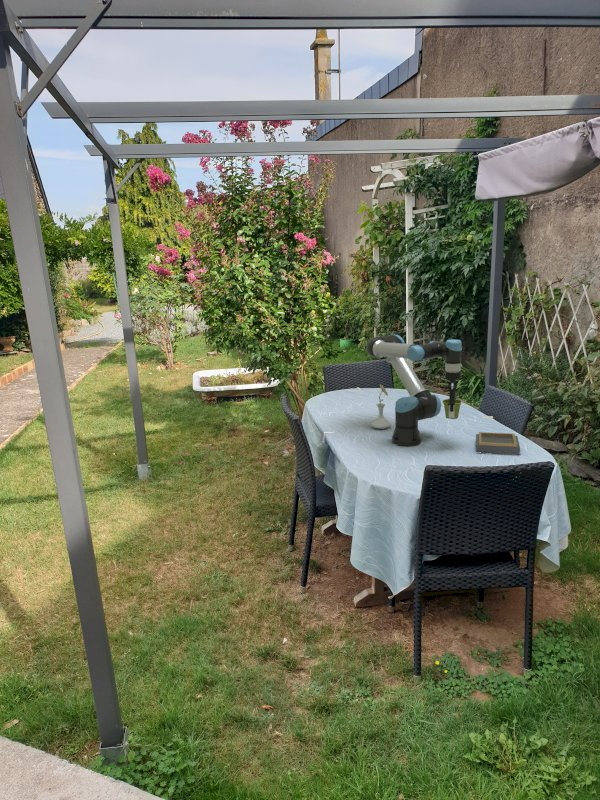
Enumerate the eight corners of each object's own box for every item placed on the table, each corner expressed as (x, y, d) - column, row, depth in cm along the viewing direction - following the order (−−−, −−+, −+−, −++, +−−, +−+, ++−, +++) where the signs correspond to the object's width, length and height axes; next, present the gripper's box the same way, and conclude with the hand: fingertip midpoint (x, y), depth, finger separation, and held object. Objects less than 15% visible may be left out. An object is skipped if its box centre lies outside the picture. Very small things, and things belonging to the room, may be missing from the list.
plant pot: (448, 421, 282) (448, 404, 280) (438, 416, 291) (439, 399, 288) (465, 419, 284) (465, 402, 282) (455, 414, 293) (455, 397, 291)
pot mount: (476, 452, 279) (476, 442, 278) (475, 441, 296) (476, 431, 295) (519, 455, 274) (520, 444, 272) (516, 443, 290) (517, 433, 289)
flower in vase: (390, 430, 320) (390, 387, 314) (370, 430, 322) (369, 387, 316) (391, 424, 332) (391, 382, 326) (372, 423, 335) (371, 382, 328)
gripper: (460, 376, 270) (459, 421, 276) (461, 366, 290) (459, 409, 296) (444, 375, 272) (443, 420, 278) (446, 366, 293) (445, 408, 298)
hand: (451, 414), depth 287 cm, fingers closed on plant pot, 9 cm apart
